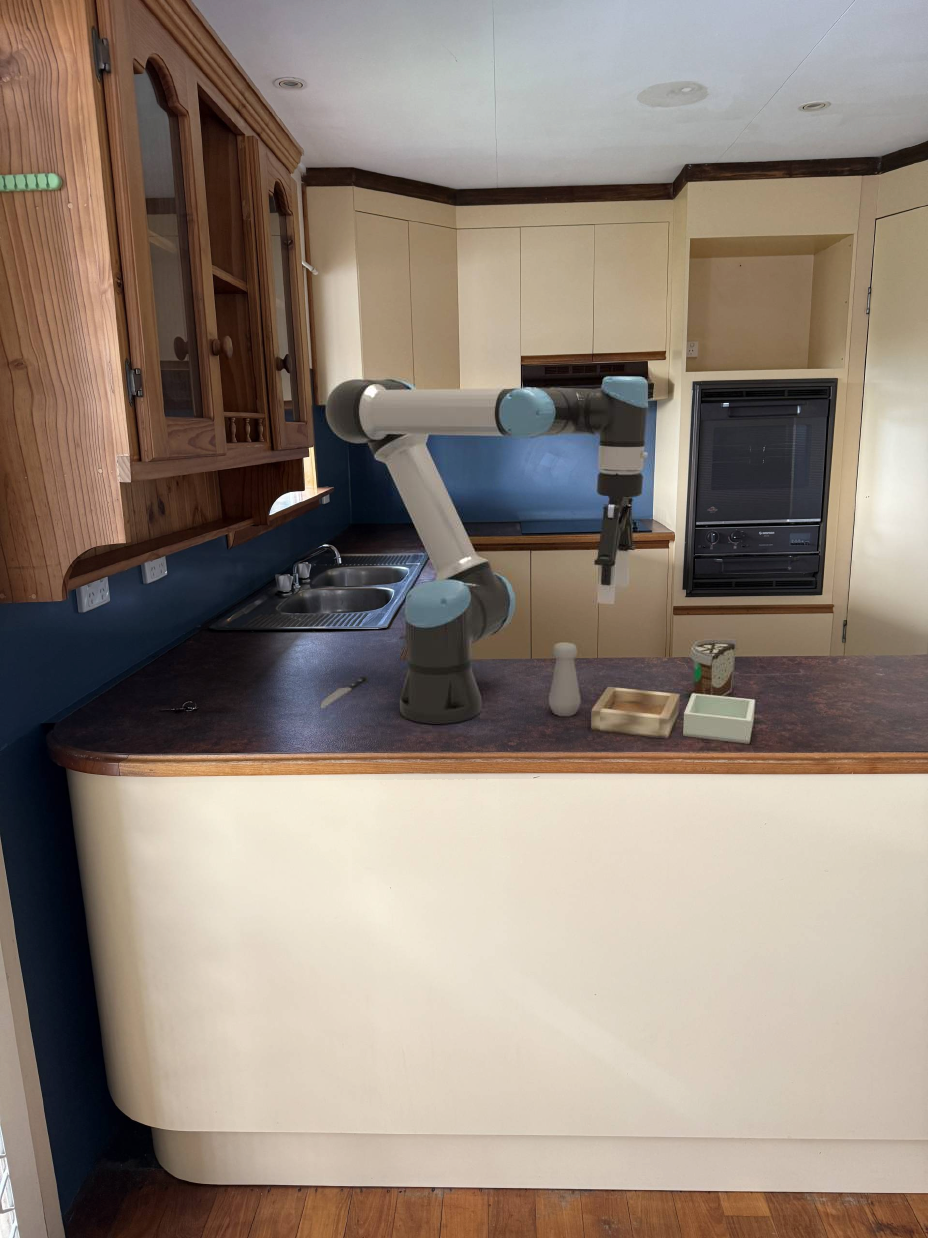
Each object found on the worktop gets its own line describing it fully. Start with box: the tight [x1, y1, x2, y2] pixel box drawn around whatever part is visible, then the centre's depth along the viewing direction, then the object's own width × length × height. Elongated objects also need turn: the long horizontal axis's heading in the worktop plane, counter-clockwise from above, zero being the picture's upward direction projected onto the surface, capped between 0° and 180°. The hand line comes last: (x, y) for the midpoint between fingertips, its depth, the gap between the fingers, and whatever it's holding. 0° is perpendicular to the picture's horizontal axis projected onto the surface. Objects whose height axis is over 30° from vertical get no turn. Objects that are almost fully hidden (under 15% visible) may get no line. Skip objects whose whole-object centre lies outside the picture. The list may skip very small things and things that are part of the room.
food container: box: [689, 638, 738, 697], centre depth 158 cm, size 12×6×10 cm, turn 141°
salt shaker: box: [548, 641, 582, 717], centre depth 150 cm, size 6×6×13 cm
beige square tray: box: [590, 686, 681, 740], centre depth 147 cm, size 13×13×4 cm
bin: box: [682, 692, 756, 745], centre depth 143 cm, size 11×11×4 cm
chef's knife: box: [320, 676, 367, 709], centre depth 165 cm, size 19×1×3 cm
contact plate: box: [611, 701, 664, 715], centre depth 147 cm, size 9×9×1 cm
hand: (613, 594), depth 146 cm, fingers open, 13 cm apart
